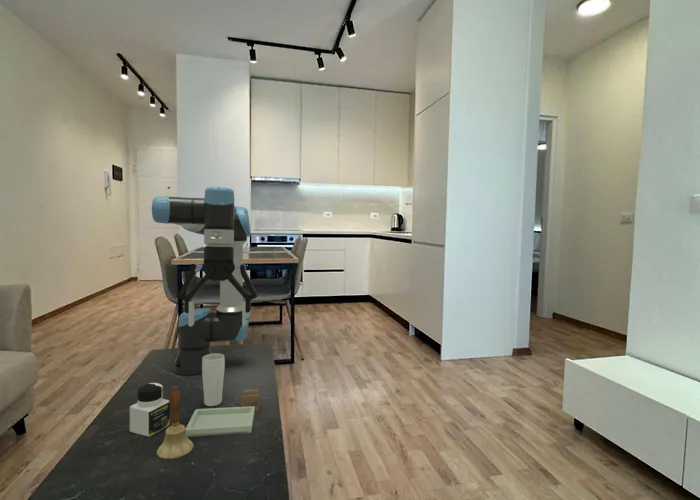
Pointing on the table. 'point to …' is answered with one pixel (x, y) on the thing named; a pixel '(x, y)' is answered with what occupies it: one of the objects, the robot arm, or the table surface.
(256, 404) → the walnut block
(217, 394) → the drinking glass
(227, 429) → the tray
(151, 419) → the medicine bottle
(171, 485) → the table surface
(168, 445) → the hand bell
